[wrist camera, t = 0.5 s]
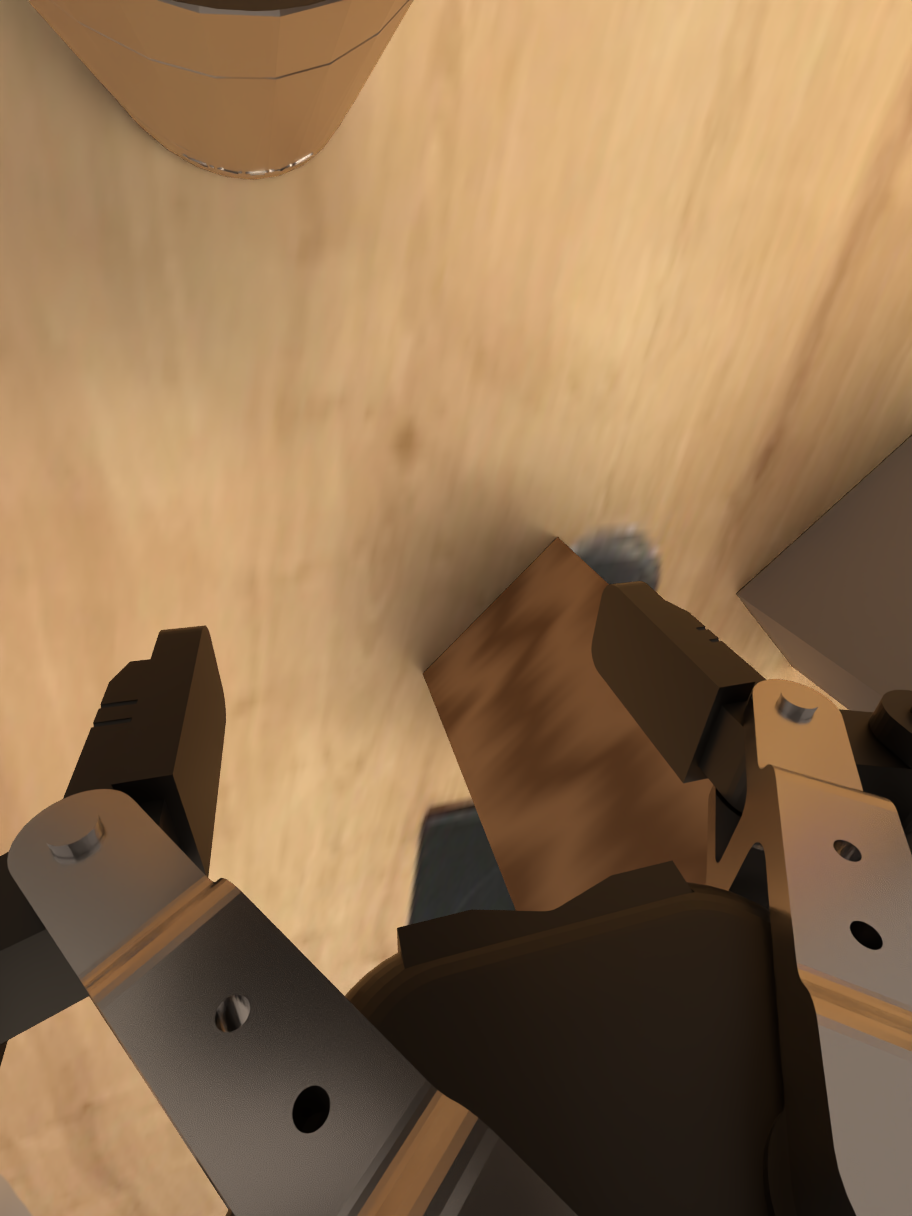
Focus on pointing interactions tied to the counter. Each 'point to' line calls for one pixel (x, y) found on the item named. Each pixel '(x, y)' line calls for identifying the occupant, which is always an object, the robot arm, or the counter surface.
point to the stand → (847, 591)
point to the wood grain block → (559, 745)
